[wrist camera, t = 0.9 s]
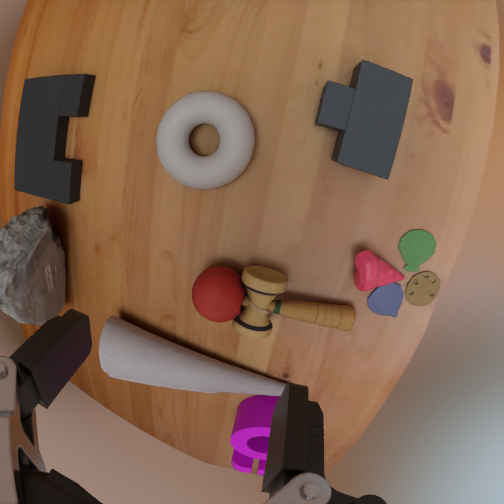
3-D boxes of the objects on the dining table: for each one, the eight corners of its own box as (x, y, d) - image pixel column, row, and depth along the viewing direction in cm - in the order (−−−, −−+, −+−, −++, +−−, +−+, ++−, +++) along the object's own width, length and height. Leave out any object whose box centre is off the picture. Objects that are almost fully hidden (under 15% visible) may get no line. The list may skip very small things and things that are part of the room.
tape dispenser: (241, 389, 41) (233, 421, 36) (306, 399, 41) (306, 432, 35) (231, 441, 48) (225, 468, 42) (284, 450, 47) (281, 477, 41)
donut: (182, 83, 27) (152, 169, 31) (169, 77, 24) (138, 172, 28) (271, 111, 28) (236, 201, 31) (269, 107, 24) (230, 208, 28)
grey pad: (329, 61, 25) (334, 50, 21) (399, 85, 24) (413, 79, 21) (307, 152, 29) (309, 154, 25) (377, 174, 28) (388, 179, 25)
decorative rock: (46, 196, 34) (-36, 230, 21) (79, 208, 34) (-7, 250, 20) (47, 291, 41) (-13, 341, 27) (76, 307, 41) (17, 365, 27)
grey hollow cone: (310, 371, 33) (94, 337, 32) (293, 415, 36) (105, 384, 35) (302, 333, 40) (117, 305, 39) (288, 377, 43) (122, 351, 42)
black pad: (35, 79, 28) (24, 79, 26) (95, 75, 28) (84, 73, 26) (24, 186, 34) (14, 189, 32) (79, 200, 34) (69, 204, 32)
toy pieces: (345, 318, 35) (349, 340, 31) (351, 229, 31) (359, 243, 27) (433, 313, 33) (445, 333, 29) (448, 229, 29) (466, 242, 25)
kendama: (357, 272, 34) (200, 243, 32) (371, 310, 28) (188, 280, 27) (334, 318, 38) (194, 295, 37) (342, 356, 33) (184, 334, 31)
